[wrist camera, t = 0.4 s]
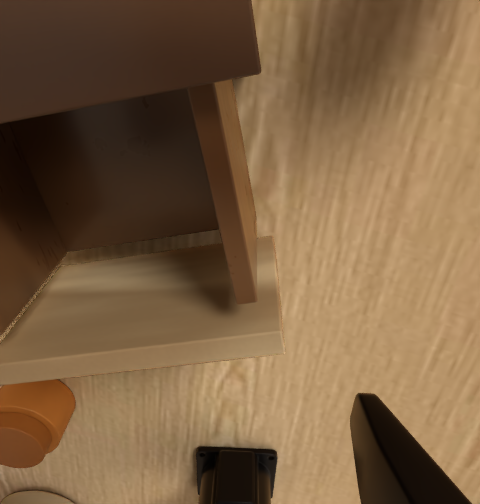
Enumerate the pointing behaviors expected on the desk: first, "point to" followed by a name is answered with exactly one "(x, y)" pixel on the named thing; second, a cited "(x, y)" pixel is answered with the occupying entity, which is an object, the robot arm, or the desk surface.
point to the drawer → (132, 239)
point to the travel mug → (35, 498)
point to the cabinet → (117, 50)
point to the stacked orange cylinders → (32, 420)
